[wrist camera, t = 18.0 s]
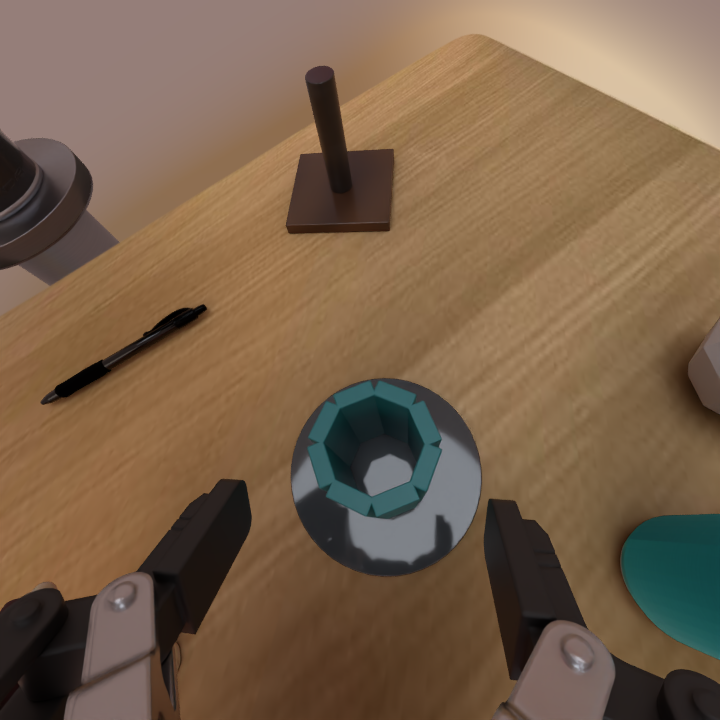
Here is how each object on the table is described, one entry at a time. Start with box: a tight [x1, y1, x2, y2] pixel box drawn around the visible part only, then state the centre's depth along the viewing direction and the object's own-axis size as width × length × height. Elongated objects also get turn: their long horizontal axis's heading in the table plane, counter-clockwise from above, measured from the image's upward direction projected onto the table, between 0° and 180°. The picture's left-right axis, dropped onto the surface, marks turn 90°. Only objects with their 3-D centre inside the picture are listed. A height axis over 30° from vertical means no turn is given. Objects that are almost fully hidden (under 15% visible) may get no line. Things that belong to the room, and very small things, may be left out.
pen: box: [41, 304, 207, 405], centre depth 29 cm, size 14×2×1 cm, turn 123°
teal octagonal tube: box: [307, 380, 442, 519], centre depth 19 cm, size 6×6×8 cm
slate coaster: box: [291, 378, 482, 576], centre depth 23 cm, size 12×12×1 cm
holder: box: [286, 66, 394, 233], centre depth 29 cm, size 9×9×10 cm
